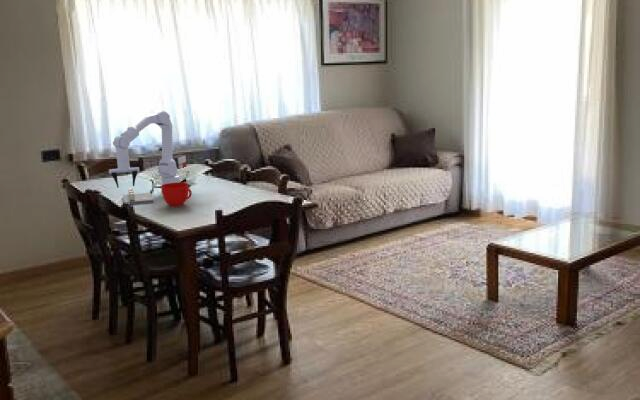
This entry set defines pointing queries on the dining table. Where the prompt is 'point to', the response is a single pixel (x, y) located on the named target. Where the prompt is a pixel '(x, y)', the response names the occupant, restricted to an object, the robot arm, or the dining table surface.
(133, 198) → the sage knob
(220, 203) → the dining table surface
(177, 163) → the red and white box
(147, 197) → the switch base
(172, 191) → the ceramic cup
